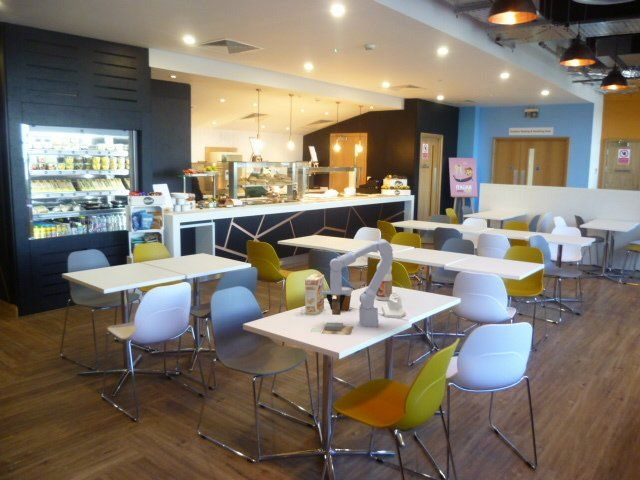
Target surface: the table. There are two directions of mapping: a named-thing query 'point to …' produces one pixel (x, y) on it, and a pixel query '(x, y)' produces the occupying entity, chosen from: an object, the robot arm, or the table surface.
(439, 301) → the table surface
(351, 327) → the mat
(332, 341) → the table surface
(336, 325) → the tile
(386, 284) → the fruit juice
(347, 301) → the disposable coffee cup
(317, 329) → the block
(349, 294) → the robot arm
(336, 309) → the block
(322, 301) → the coffeecake box
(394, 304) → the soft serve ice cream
